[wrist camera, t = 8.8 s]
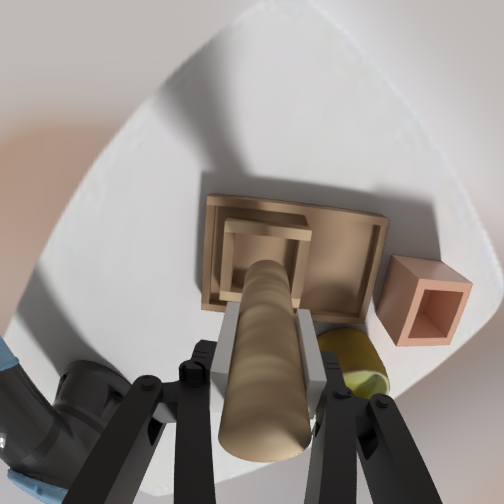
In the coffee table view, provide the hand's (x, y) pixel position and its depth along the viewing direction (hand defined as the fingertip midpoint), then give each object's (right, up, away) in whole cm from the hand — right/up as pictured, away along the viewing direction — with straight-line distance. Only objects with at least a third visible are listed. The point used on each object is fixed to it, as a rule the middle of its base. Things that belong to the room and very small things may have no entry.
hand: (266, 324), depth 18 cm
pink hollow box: (+18, 0, +14) cm, 23 cm away
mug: (+10, -10, +17) cm, 22 cm away
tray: (+3, +4, +13) cm, 14 cm away
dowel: (0, +2, +7) cm, 7 cm away
